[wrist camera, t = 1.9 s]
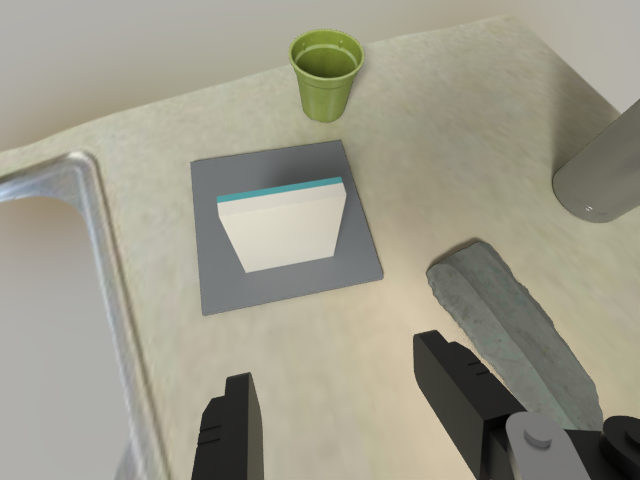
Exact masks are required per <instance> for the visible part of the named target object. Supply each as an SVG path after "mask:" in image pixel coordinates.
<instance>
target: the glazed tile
mask: <svg viewBox="0 0 640 480" xmlns="http://www.w3.org/2000/svg"><path fill="white" fill-rule="evenodd" d="M345 200H346V192H345V188H344V185H343V182H342V178H341V177H336V178H329V179H323V180H317V181H311V182H304V183H298V184H292V185H286V186H280V187H273V188H267V189H261V190H255V191H248V192H242V193H236V194H230V195H224V196H217V205H218V214H219V218H220V220H221V222H222V224H223V226H224V228H225V231H226V233H227V235H228V237H229V239H230V241H231V243H232V245H233V247H234V249H235V251H236V253H237V255H238V257H239V260H240V262H241V264H242V266H243V268H244V270H245V272H246V273H248V272H253V271H258V270H264V269H269V268H274V267H279V266H284V265H290V264H295V263H300V262H305V261H310V260H316V259H321V258H326V257H331V256H333V255H334V251H335V246H336V241H337V237H338V232H339V227H340V223H341V218H342V214H343V209H344V204H345Z"/></svg>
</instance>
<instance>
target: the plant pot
mask: <svg viewBox="0 0 640 480" xmlns="http://www.w3.org/2000/svg"><path fill="white" fill-rule="evenodd" d="M288 54H289V60H290V63H291V64H292V66H293V67H294V71H295V73H296V75H297V79H298V84H299V90H300V95H301V101H302V107H303V111H304V113H305V114H306V115H307V116H308V117H309V118H311V119H315V120H318V121H320V122H330V121H334V120H336V119H338V118H339V117H340V116H341V115H342V113H343V111H344V108H345V105H346V102H347V98H348V95H349V92H350V89H351V85H352V82H353V79H354V77H355V76H356V74H357V72H358V71H359V69H360V68H361V67H362V65H363V62H364V50H363V48H362V46H361V45H360V43H359V42H358V41H357V40H356V39H354V38H353V37H352V36H350V35H348V34H346V33H344V32H341V31H337V30H332V29H317V30H312V31H309V32H306V33H303V34H301V35H300V36H298V37H297V38H296V39H295V40H294V41H293V42H292V43H291V45H290V47H289V51H288Z"/></svg>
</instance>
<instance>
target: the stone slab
mask: <svg viewBox="0 0 640 480" xmlns="http://www.w3.org/2000/svg"><path fill="white" fill-rule="evenodd" d="M426 276H427V278H428V284H429V285H430V287H431V288H432V290H433V295H434V296H435V297H436V298H437V300H438V302H439V304H440V305H442V306H443V307H444V308H445V310H446V311H447V312H448V313H450V314H451V316H452V318H453V319H454V320H455V321H456V322H457V323H458V325H459V326H460V327H461V328H462V329H463V330H464V332H465V333H466V335H467V336H468V337H469V338H470V340H471V341H472V342H473V343H474V345H475V347H476V349H477V351H478V352H479V353H480V355H481V356H482V357H483V358H484V359H486V360H487V361H488V363H489V364H491V365H492V366H493V367H494V369H495V370H496V372H497V373H498V374H499V375H500V376H501V377H502V378H503V380H504V382H505V384H506V386H507V387H508V388H509V389H510V390H511V392H512V393H513V395H514V396H515V397H516V398H517V400H518V401H519V402H520V403H521V404H522V406H523V407H524V408H525V409H526V410H527V411H528V412H533V413H537V414H540V415H543V416H545V417H547V418H549V419H551V420H553V421H554V422H556V423H557V424H558V425H559V426H560V427H562V428H563V429H570V430H589V431H601V430H602V428H603V414H602V410H601V408H600V406H599V401H598V398H599V397H598V395H597V392H596V387H595V384H594V382H593V381H592V379H591V378H590V376H589V375H588V374H587V373H586V371H585V370H584V369H583V367H582V365H581V364H580V363H579V361H578V360H577V358H576V357H575V355H574V354H573V352H572V351H571V349H570V348H569V346H568V345H567V343H566V342H565V341H564V340H563V339H562V338H561V337H560V335H559V334H558V333H557V331H556V330H555V328H554V325H553V322H552V320H551V319H550V317H549V316H548V315H547V314H546V313H545V311H544V310H543V309H542V308H541V306H540V304H539V303H538V302H537V301H535V300H534V299H533V298H532V296H531V295H530V294H529V291H528V289H526V288H525V287H523V286H522V285H521V284H519V283H518V282H517V281H516V280H515V278H514V276H513V274H512V272H511V270H510V268H509V267H508V266H507V265H506V264H505V263H504V262H503V260H502V259H501V257H500V256H499V254H498V253H497V252H496V251H495V250H494V249H493V248H492V246H490V245H488V244H486V243H484V242H482V241H479V242H476V243H474V244H472V245H471V246H469V247H467V248H465V249H462V250H460V251H458V252H457V253H455V254H453V255H451V256H449V257H448V258H446V259H444V260H442V261H441V262H439V263H437V264H435V265H434V266H433V267H432V268H431V269H429V270H428V271H427V272H426Z"/></svg>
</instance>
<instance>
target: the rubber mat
mask: <svg viewBox="0 0 640 480" xmlns="http://www.w3.org/2000/svg"><path fill="white" fill-rule="evenodd" d="M190 164H191V177H192V190H193V202H194V215H195V228H196V240H197V253H198V266H199V279H200V291H201V304H202V315H204V316H207V315H212V314H217V313H222V312H226V311H231V310H236V309H241V308H246V307H251V306H256V305H260V304H265V303H270V302H275V301H280V300H285V299H290V298H294V297H299V296H304V295H309V294H314V293H319V292H324V291H328V290H333V289H338V288H343V287H348V286H353V285H358V284H362V283H367V282H372V281H377V280H382V279H383V278H384V276H383V273H382V270H381V267H380V264H379V260H378V257H377V254H376V251H375V248H374V245H373V241H372V238H371V235H370V232H369V229H368V225H367V222H366V219H365V216H364V213H363V210H362V206H361V203H360V200H359V197H358V194H357V190H356V187H355V184H354V181H353V178H352V175H351V171H350V168H349V165H348V162H347V159H346V156H345V152H344V149H343V146H342V143H341V140H338V141H331V142H324V143H318V144H311V145H304V146H297V147H290V148H283V149H276V150H270V151H263V152H256V153H249V154H242V155H235V156H228V157H222V158H215V159H208V160H201V161H194V162H190ZM336 177H341V178H342V182H343V185H344V188H345V192H346V200H345V204H344V209H343V214H342V218H341V223H340V227H339V232H338V237H337V241H336V246H335V251H334V255H333V256H331V257H326V258H321V259H316V260H310V261H305V262H300V263H295V264H290V265H284V266H279V267H274V268H269V269H264V270H258V271H253V272H248V273H246V272H245V270H244V268H243V266H242V264H241V262H240V260H239V257H238V255H237V253H236V251H235V249H234V247H233V245H232V243H231V241H230V239H229V237H228V235H227V233H226V231H225V228H224V226H223V224H222V222H221V220H220V218H219V214H218V205H217V196H224V195H230V194H236V193H242V192H248V191H255V190H261V189H267V188H273V187H280V186H286V185H292V184H298V183H304V182H311V181H317V180H323V179H329V178H336Z"/></svg>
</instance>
